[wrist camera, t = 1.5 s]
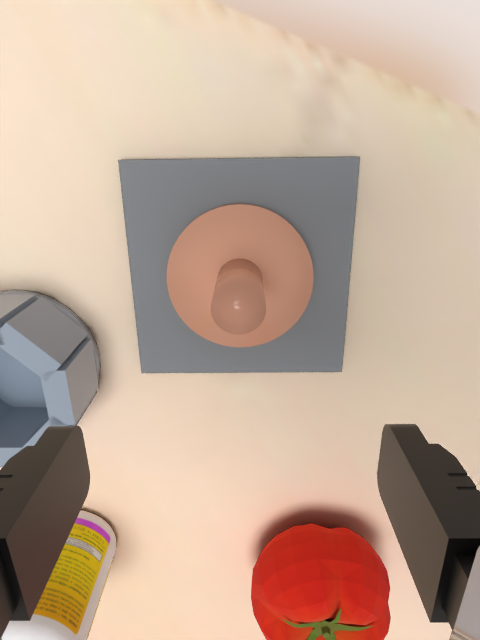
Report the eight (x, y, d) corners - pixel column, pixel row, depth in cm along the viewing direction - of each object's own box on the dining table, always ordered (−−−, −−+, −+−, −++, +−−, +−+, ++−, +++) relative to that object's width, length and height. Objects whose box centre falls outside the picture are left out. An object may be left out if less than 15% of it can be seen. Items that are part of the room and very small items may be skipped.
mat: (357, 156, 25) (360, 156, 25) (340, 367, 30) (341, 371, 30) (120, 159, 25) (118, 160, 25) (143, 369, 31) (141, 373, 30)
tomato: (262, 496, 35) (267, 582, 28) (392, 515, 35) (429, 604, 28) (240, 586, 39) (239, 682, 32) (357, 602, 39) (382, 699, 32)
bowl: (89, 289, 28) (55, 319, 23) (108, 416, 32) (82, 467, 27) (-60, 290, 29) (-126, 320, 23) (-24, 417, 32) (-75, 467, 27)
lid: (313, 201, 26) (333, 217, 20) (307, 338, 29) (323, 386, 23) (163, 204, 26) (140, 220, 20) (175, 340, 29) (157, 387, 23)
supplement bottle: (34, 505, 35) (-74, 686, 23) (114, 505, 35) (46, 687, 23) (48, 563, 38) (-44, 754, 26) (122, 564, 38) (65, 755, 26)
